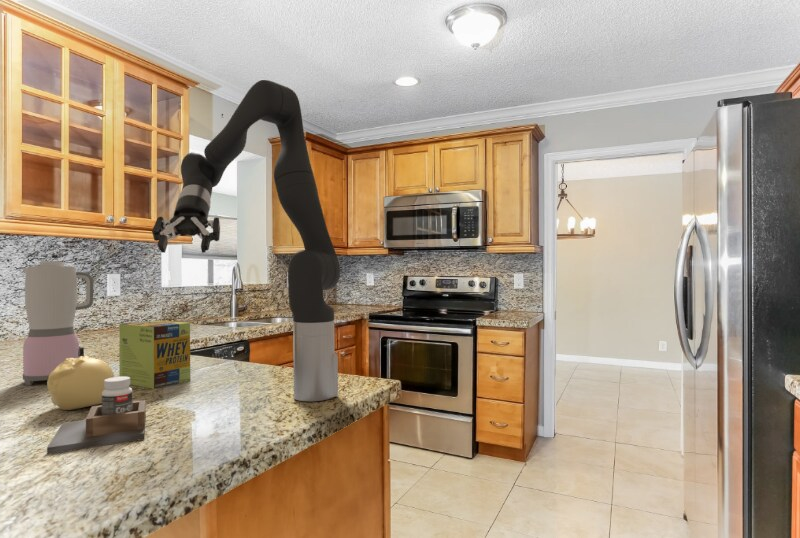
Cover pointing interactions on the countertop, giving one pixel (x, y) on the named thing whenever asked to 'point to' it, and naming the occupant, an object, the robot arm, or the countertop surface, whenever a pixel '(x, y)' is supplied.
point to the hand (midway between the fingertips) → (182, 249)
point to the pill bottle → (116, 396)
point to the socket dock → (100, 429)
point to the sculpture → (78, 382)
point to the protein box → (155, 353)
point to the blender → (51, 317)
